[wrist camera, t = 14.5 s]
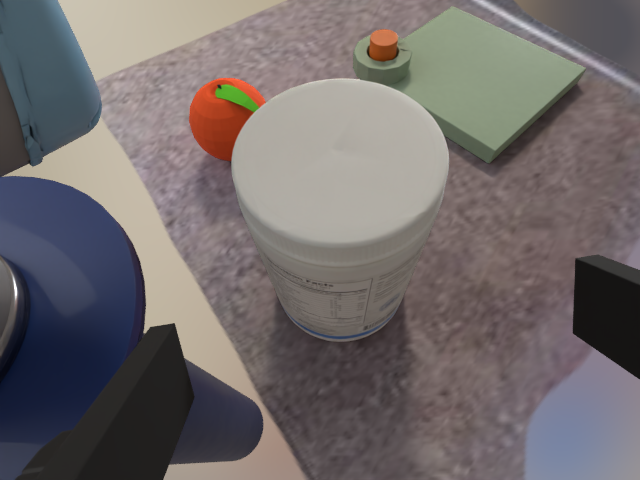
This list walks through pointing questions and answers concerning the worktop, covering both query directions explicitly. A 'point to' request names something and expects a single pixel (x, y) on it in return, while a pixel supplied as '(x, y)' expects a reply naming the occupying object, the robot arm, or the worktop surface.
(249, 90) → the clementine
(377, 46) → the tare button
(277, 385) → the worktop surface
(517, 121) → the scale
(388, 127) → the supplement tub
